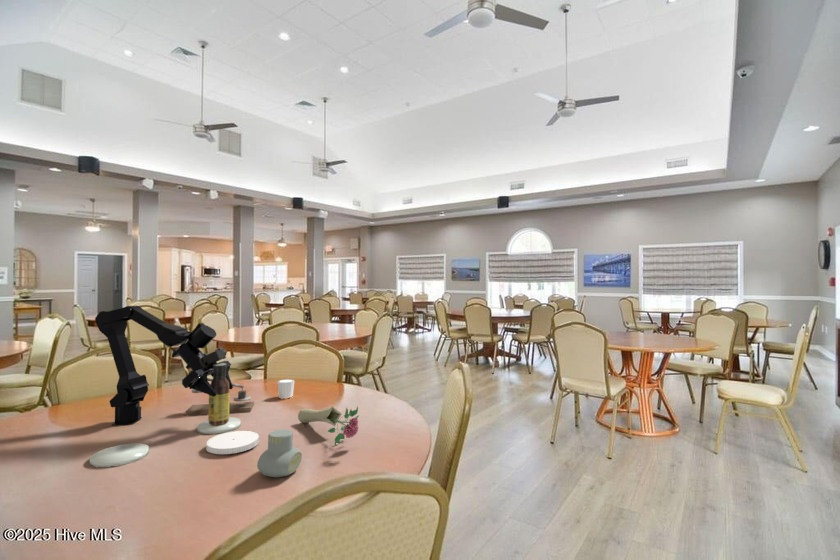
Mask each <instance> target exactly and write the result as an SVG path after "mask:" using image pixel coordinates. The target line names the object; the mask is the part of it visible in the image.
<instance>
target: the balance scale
mask: <svg viewBox="0 0 840 560" xmlns="http://www.w3.org/2000/svg"><path fill="white" fill-rule="evenodd" d="M212 379H213V378H210V377H209V378H208V377H207V381H208V382H210V383H211V382H212ZM231 383H232V385H233V387H235V388H239V389H240V388H241V390H239V391H238V393H237V395H238V396H235V397H233V401H234V402H229V414H230V413H231V414H232V413H233V414H234V413H235V412H236V413H250V412H249V411H252V410H253V408H254V407H255V401H251V397H252V396H250V395H247V390H246V389H245V390H244V387H245V386H244V385H243V384H239V383H234V382H231ZM191 393H192V394H202V393H203V392H200V391H197V390H194V389H191ZM203 394H204V393H203ZM253 406H254V407H253ZM195 415H197V416H199V415H209V403H205V404H203V403H201V404H192V405H191V406H189V408H188V409H187V410H185V416H195Z"/></svg>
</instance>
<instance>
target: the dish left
mask: <svg viewBox="0 0 840 560" xmlns="http://www.w3.org/2000/svg"><path fill="white" fill-rule="evenodd" d="M149 452H150V446H149V445H148V444H145V443H140V442H139V443H137V442H136V443H124V444H118V445H115V446H114V445H113V446H111V447H106V448H104V449H101V450H99V451H96V452H95V453H93V454H92V455H91V456H90V457H89V465H90V464H91V465H93V466H97V467H96V468H99V467H106V468H112V467H111V466H115V467H118V466H117V465H121V466H124V465H123V464H125V465H128V463H129V464H131V463H135V462H137V461H139V460H142V459H143V458H145V457H147V456H148V454H149ZM91 465H90V466H91ZM93 466H92V467H93Z"/></svg>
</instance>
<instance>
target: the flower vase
mask: <svg viewBox="0 0 840 560" xmlns="http://www.w3.org/2000/svg"><path fill="white" fill-rule="evenodd" d="M358 411H359V407H358V406H356V408H355V409H354V410H352V408H350V410H349V409H348V408H347V407H346V408H345V414H344V415H343V416H342V412H341V411H339V410H338V409H337V408H335V407H334V406H332V405H331V406H329V407H326V408H324V409H321V410H317V409H310V408H302V409H301V410H299V411H298V413H297V419H298V421H299V422H300V423H302V422H303V423H302V424H305V423H316V422H320V423H321V422H322V423H327V424H329V425H332V426H333V427H331V428H329V429H328V430H327V432H328V433H330V434H331V433H335V432H336V430H339V427H338V424H341V428H340V430H341V432H338V433H337V435H336V436H335V438H334V440H333V442H334V445H335V444H336V443H338V444H339V443H340V442H341V439H344V440H345V438H346V439H347V438H348V439H350V438H354V437H355V435H357V433H358V431H359V416H360V415H357V414H358ZM356 415H357V416H356ZM343 417H344V419H345V420H341V419H342V418H343ZM350 418H351V419H350ZM336 425H337V428H335V426H336Z"/></svg>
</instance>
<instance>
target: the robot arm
mask: <svg viewBox="0 0 840 560" xmlns="http://www.w3.org/2000/svg"><path fill="white" fill-rule="evenodd" d="M94 321H95V324H96V327H97V328H98V331H100V332H101V334H102V335H104V336H105V337H106V338H107V342H108V344H109V348H110V351H111V354H112V357H113V361H114V363H115V366H116V371H117V374H118V379H117V383H116V394H115V395H114V396H113V397H112V398H111V399H110V400H109V404H110V407H111V408H114V422H112V423H111V425H112V426H122V425H124V426H125V425H133V424H136V423H137V422H139V420H141V419H142V406H141V405H140V404H141V402H143V401H144V399H145V397H146V395H147V393H148V392H149V385H150V384H149V383H148V380H147V376H146V375H145V374H142V375H141V374H140V373H138V372H137V370H136V366H135V363H134V360H133V356H132V352H131V350H130V346H129V343H128V340H127V336H126V330H127V327H128V321H133V322H135V323H136V324H139V325H140V326H141V327H143V328H145V329H147V330H149V331H150V332H152V333H154V334H155V335H156V336H157V338H158V340H159V341H160V342H161V343H162V344H163V345H165V346H166V347H175V346H178V347H177V348H173V349H172V354H171V358H177V357H180V358H181V359H182V360H183V362H184V363H185V364H186V366H185V368H186V370H190V369H191V370H190V371H189V372H188V373H187V374H186V375H185V377H184V378H183V379H181V385H182V387H184V388H185V389H188V388H189V389H190V390H192V389H194V390H197V391H200V392H203V394H206V395H208V396H209V395H211V396H213V397H215V396H216V395H217V394H216V392H215V390H214V389H213V388H212V386H211V383H210V381H207V378H208V377H209V376H211V377H212V378H213V375H214V369H213V365H214V364H217V363H226V364H227V368H226V378H227V380H228V381H229V390H233V388H234V386H233V385H232V383H233V382H232V380H231V378H230V375H229V370H230V369H231V366H232V363H231V362H230V361H229V360H225V359H226V358H227V352H228V351H226V350H225V348H223V347H218V348H217V349H215V351H213V352H210V353H208V352H203V351H202V350H201V349H204V348H205V349H206V347H207V346H208V345H209V344H210V343H211V342H212V341H213V340H214V339H215V338H216V336H217V332H216V330H215V329H214V328H212V327H210V326H209V325H206V324H205V323H204V322H201V323H198V324H197V325H196V326H195V328H194V329H192V331H189V330H188V329H187V328H185V327H183V326H179V325H176V324H171V323H167V322H165V321H164V320H162V319H161V318H159V317H157V316H156V315H154V314H151V313H150V312H148V311H147V310H146V309H143V308H142V307H141V306H140V305H126V306H124V307H121V308H117V309H113V310H103V311H100V312H98V313H97V315H96V316H95V318H94ZM221 360H223V361H221Z"/></svg>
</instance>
